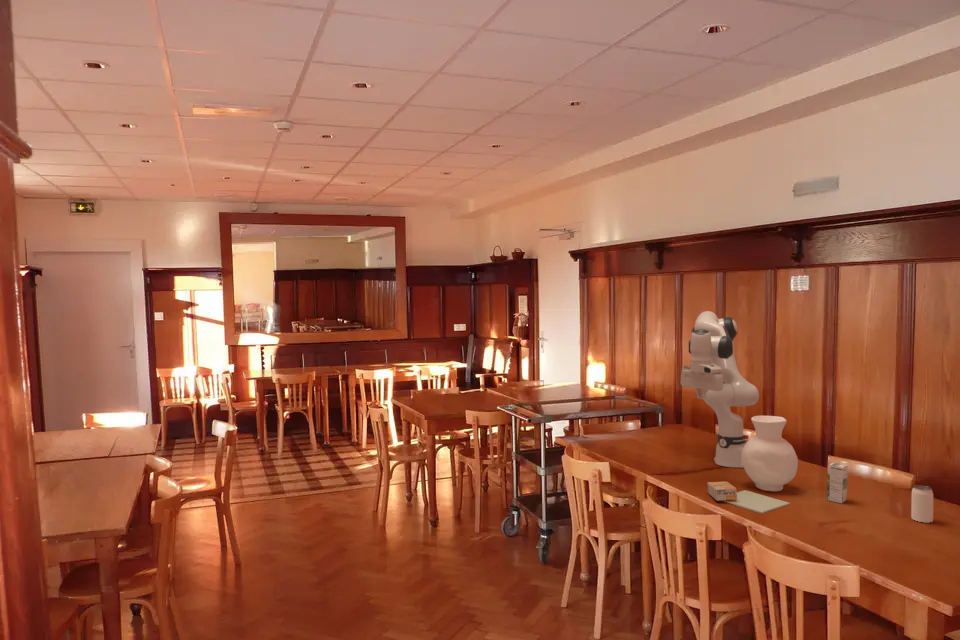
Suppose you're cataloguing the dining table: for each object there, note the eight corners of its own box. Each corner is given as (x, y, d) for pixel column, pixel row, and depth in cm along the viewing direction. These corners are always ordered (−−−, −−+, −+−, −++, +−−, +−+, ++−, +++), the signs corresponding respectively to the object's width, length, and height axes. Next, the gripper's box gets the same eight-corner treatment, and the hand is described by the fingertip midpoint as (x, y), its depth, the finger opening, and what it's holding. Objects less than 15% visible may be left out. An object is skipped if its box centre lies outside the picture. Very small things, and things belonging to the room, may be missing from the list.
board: (745, 491, 270) (745, 490, 270) (789, 504, 253) (789, 502, 253) (716, 499, 261) (716, 498, 261) (761, 513, 244) (761, 512, 244)
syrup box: (831, 497, 261) (831, 461, 260) (847, 500, 256) (847, 464, 256) (826, 500, 257) (826, 464, 256) (843, 504, 252) (843, 467, 252)
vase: (738, 480, 285) (738, 413, 284) (790, 482, 281) (790, 414, 279) (746, 493, 267) (746, 421, 266) (802, 496, 263) (802, 423, 261)
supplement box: (726, 480, 269) (737, 488, 256) (727, 492, 269) (738, 500, 256) (706, 481, 269) (715, 489, 256) (707, 493, 269) (716, 501, 256)
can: (933, 524, 229) (933, 491, 228) (911, 521, 232) (911, 488, 232) (932, 519, 235) (932, 486, 234) (910, 516, 238) (911, 483, 237)
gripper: (677, 365, 287) (677, 396, 288) (715, 370, 270) (715, 402, 271) (686, 364, 291) (687, 395, 291) (725, 368, 273) (725, 401, 274)
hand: (701, 398), depth 281 cm, fingers closed
